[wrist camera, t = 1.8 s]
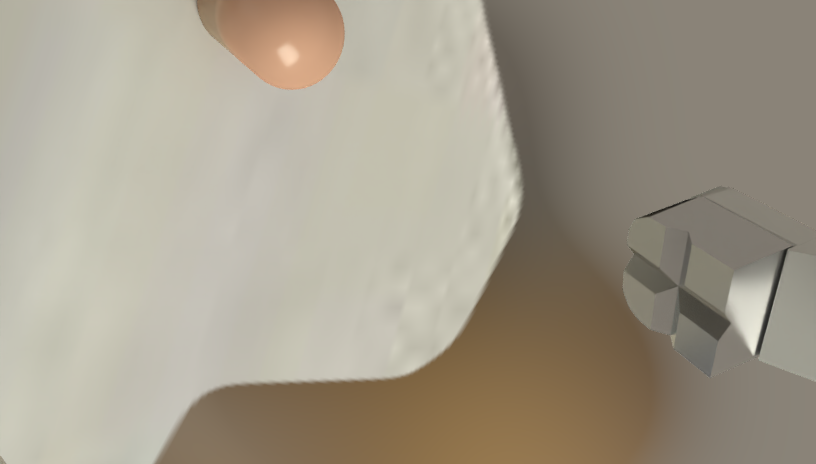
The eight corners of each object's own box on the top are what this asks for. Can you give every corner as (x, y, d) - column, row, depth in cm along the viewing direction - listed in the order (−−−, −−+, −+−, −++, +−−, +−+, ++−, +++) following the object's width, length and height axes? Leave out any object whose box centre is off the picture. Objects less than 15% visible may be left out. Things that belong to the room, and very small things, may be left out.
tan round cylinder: (210, 57, 38) (254, 101, 31) (186, -34, 35) (228, -9, 28) (292, 38, 39) (351, 75, 32) (274, -50, 37) (335, -31, 30)
